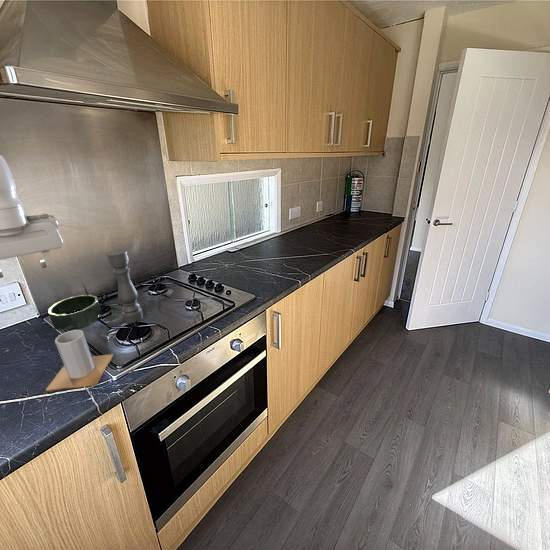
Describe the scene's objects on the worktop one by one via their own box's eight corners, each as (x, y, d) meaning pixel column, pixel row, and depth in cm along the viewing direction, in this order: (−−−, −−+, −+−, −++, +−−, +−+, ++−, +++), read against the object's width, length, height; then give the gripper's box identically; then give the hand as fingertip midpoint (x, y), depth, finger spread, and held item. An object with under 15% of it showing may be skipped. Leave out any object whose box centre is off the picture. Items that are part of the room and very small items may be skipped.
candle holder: (120, 323, 101) (101, 255, 91) (131, 314, 107) (114, 249, 97) (136, 324, 100) (119, 255, 90) (146, 315, 106) (131, 249, 96)
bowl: (45, 332, 97) (38, 317, 95) (67, 311, 111) (62, 296, 108) (91, 328, 99) (86, 312, 97) (108, 307, 112) (104, 293, 110)
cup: (63, 380, 76) (49, 345, 71) (75, 364, 81) (62, 330, 77) (88, 377, 77) (76, 342, 72) (98, 361, 82) (87, 328, 78)
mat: (45, 391, 73) (45, 390, 73) (69, 360, 84) (69, 358, 84) (96, 385, 74) (96, 383, 74) (113, 355, 85) (113, 353, 85)
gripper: (51, 211, 80) (66, 258, 85) (-57, 224, 66) (-32, 280, 71) (57, 214, 76) (72, 264, 81) (-56, 229, 62) (-29, 288, 67)
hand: (23, 272), depth 76 cm, fingers open, 8 cm apart
